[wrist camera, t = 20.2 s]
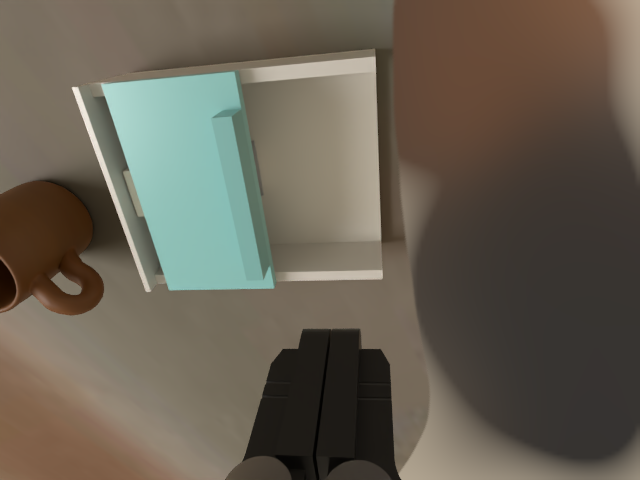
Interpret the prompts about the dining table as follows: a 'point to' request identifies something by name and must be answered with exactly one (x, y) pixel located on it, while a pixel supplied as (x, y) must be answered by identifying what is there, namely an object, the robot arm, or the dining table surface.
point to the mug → (45, 248)
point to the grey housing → (281, 163)
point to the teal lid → (195, 178)
